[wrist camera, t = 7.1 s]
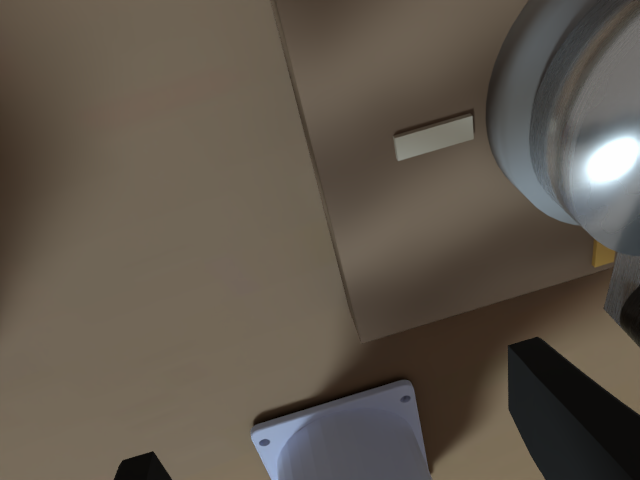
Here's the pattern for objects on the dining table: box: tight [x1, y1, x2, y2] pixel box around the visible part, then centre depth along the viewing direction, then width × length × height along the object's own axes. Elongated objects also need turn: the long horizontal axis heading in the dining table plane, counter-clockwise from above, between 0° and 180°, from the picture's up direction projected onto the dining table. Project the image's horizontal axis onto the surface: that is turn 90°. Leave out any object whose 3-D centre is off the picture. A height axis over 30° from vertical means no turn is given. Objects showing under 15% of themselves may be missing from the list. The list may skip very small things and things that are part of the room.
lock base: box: [271, 0, 617, 343], centre depth 18 cm, size 16×20×4 cm
